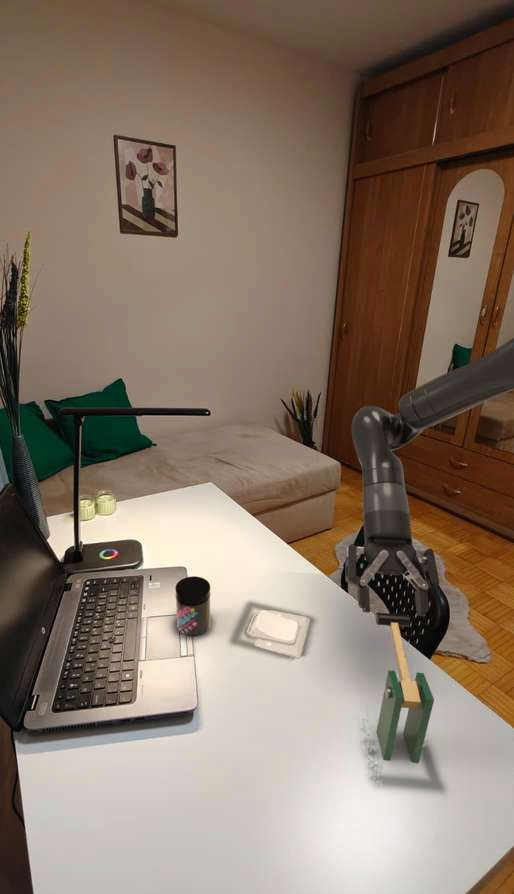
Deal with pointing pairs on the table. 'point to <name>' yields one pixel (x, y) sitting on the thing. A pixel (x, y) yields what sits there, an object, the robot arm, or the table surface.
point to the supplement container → (193, 606)
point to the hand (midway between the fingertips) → (394, 613)
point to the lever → (401, 657)
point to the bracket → (414, 721)
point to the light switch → (279, 632)
